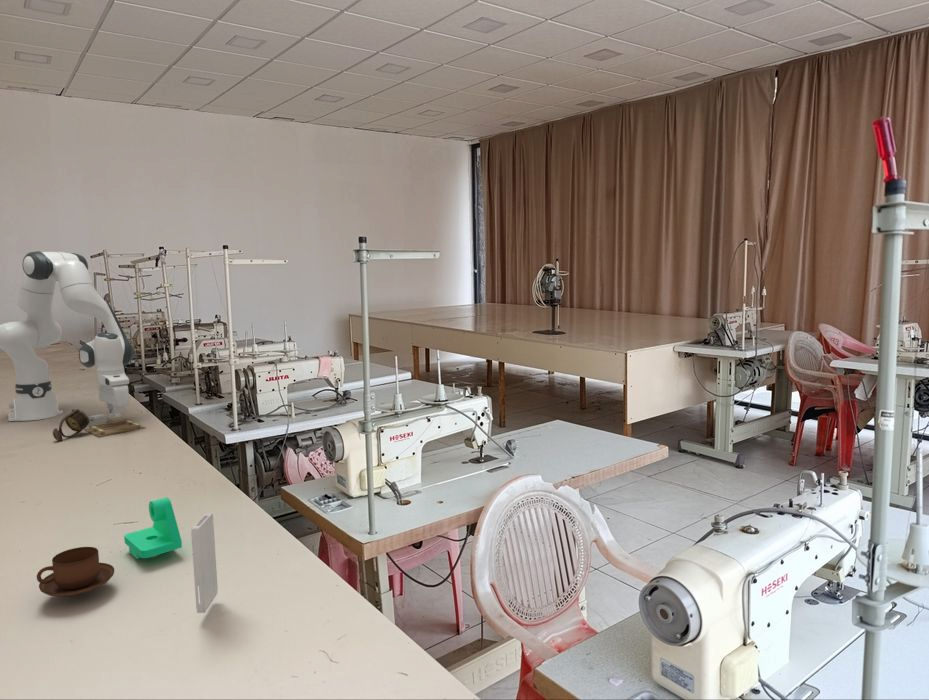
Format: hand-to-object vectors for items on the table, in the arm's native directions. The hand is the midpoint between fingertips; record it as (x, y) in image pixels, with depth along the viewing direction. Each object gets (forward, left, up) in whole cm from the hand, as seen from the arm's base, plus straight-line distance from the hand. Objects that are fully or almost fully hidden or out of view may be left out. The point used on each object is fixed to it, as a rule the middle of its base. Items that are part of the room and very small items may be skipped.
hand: (114, 415), depth 240 cm
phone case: (+148, -35, -6) cm, 152 cm away
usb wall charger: (-15, 0, -6) cm, 17 cm away
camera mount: (+117, -32, -6) cm, 121 cm away
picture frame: (0, 0, -6) cm, 6 cm away
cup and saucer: (+124, -48, -6) cm, 133 cm away
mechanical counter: (0, -14, -6) cm, 15 cm away
